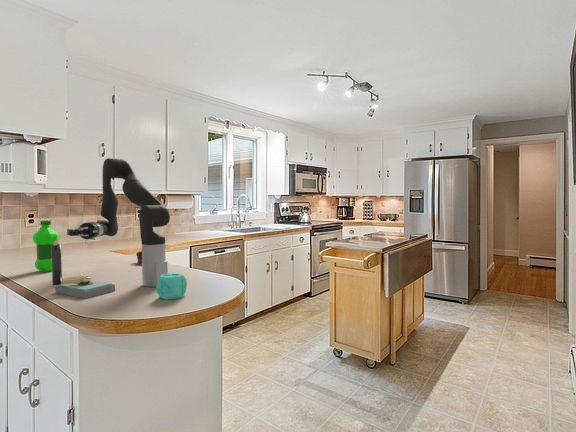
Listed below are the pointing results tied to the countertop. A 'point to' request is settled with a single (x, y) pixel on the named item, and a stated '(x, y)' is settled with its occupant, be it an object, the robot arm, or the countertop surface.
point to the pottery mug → (139, 257)
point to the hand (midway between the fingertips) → (71, 233)
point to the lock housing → (85, 289)
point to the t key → (58, 268)
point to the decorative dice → (171, 286)
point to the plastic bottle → (44, 246)
